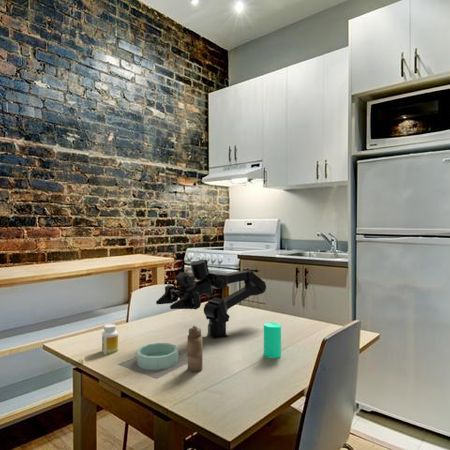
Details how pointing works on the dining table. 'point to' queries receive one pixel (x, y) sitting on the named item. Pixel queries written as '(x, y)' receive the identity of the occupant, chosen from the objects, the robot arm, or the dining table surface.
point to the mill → (194, 350)
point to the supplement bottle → (109, 339)
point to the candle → (272, 340)
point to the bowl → (157, 356)
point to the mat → (154, 373)
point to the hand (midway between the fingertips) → (163, 305)
